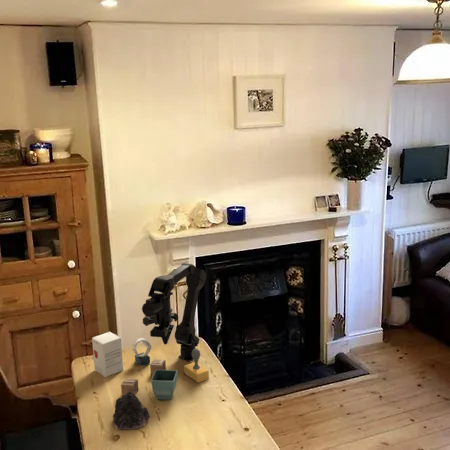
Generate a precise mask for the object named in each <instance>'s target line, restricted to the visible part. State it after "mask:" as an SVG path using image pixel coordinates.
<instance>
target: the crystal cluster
mask: <svg viewBox="0 0 450 450" xmlns="http://www.w3.org/2000/svg"><path fill="white" fill-rule="evenodd" d="M150 417H151V415H150V411H149V409H148V408H146V407H144V405H143V404H142V402H141V401H140V399H139V398H138V396H137V395H134V394H133V393H132V392H128V393H127V394H126V395H123V396H122V395H121V397H118V398H116V400H115V405H114V413H113V415H112V425H113V426H114V428H115V429H116V430H137V429H141V428H142V427H145V425H147V424H148V423H149V419H150Z"/></svg>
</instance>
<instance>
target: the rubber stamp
mask: <svg viewBox="0 0 450 450" xmlns="http://www.w3.org/2000/svg"><path fill="white" fill-rule="evenodd" d="M200 357H201V352H200V350H199V349H198V348H196V349H193V351H192V358H193V359H192V361H193V362H190V363H188V364H185V365H184V367H183V369H184V372H183V373H184V374H186V376H188V377H189V378H190V379H192V381H193V380H194V381H195V382H196V383H201V382H203V381H207V380H209V378H210V377H209V376H210V375H209V370H208V369H207V368H206V367H204V366H202V365H201V364H200V363H199V360H200Z"/></svg>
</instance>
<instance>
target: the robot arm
mask: <svg viewBox="0 0 450 450" xmlns="http://www.w3.org/2000/svg"><path fill="white" fill-rule="evenodd" d="M183 279H185V283H186V286H187V292H186V293H187V294H186V299H185V302H184V309H183V313H182V314H183V315H182V320H181V322H180V323H179V324H176V326H175V325H174V324H171V323H172V322H176V323H177V322H178V321H179V315H178V313H176V312H173V308H171V307H172V305H171V296H172V295H174V293H173V292H172V291H173V290H174V289H175V285H176V284H178V283H179V282H180V281H181V280H183ZM206 279H207V273H206V271H205V270H203V269H201V268H199V267H197V266H196V265H194V264H192V263H187V262H184V263H181V265H180V266H179V267H177V268H175V269H173V271H171V272H169V273H168V274H166V275H160V276H157V277H155V278H154V279H153V281H152V282H151V286H150V289H149V292H148V295H147V297H149V298H147V299H146V300H145V302H144V303H143V304H142V307H141V311H142V313H143V315H144V316H143V318H142V324H143V325H144V326H146V327H148V326H149V325H152V324H154V325H155V326H153V327H152V328H151V330H150V331H149V335H150V336H149V337H151V338H152V337H153V338H161V340H162V342H163V344H164V345H167V344H168V343H169V342H168V341H169V340H170V337H171V335H172V334H171V333H172V332H173V329H174V327H175V331H174V339H175V342H176V344H177V345H180V348H179V349H180V351H179V352H180V355H178V358H179V359H181V360H184V361H188V362H191V361H193V358H192V351H193V349H197V348H196V347H198V345H199V343H200V338H199V337H198V336H197V335H196V331H197V330H196V328H195V325H194V322H195V316H196V310H197V305H198V301H199V300H198V299H199V293H200V291H201V289H202V288H203V287H204V286H205V283H206Z"/></svg>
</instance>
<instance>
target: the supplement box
mask: <svg viewBox="0 0 450 450" xmlns="http://www.w3.org/2000/svg"><path fill="white" fill-rule="evenodd" d="M91 343H92V353H93V364H94V366H93V367H94V371H96V372H97V373H99V375H102V376H103V377H104V378H107V377H110V376H112V375H114V374H117V373H119V372H122V371H124V364H123V360H124V359H123V351H122V350H123V349H122V347H123V346H122V345H123V344H122V337H120V336H118V335H117V334H116V333H113V332H111V331H107V332H105V333H103V334H100V335H96V336H95V335H94V336H93V337H91Z"/></svg>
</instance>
